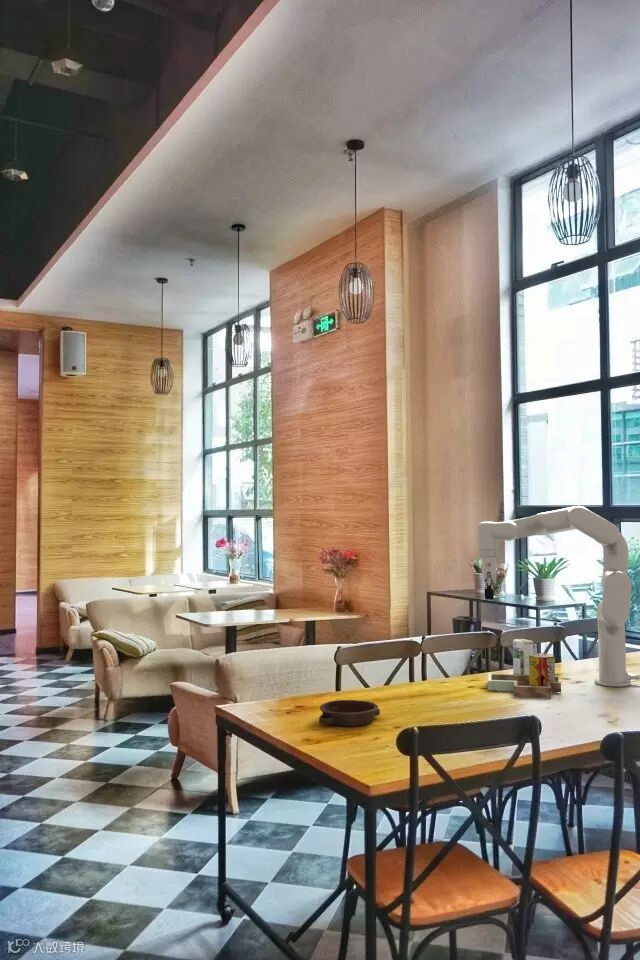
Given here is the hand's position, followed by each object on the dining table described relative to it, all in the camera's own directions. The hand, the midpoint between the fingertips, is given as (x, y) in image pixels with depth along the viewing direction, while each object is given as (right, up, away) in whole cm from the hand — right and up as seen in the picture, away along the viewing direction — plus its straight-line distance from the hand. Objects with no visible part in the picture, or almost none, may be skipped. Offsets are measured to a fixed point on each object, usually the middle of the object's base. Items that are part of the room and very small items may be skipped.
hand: (489, 598), depth 307 cm
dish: (-56, -28, -65) cm, 90 cm away
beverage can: (+15, -30, -19) cm, 39 cm away
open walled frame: (+8, -30, -22) cm, 38 cm away
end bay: (+1, -30, -16) cm, 34 cm away
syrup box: (+14, -31, +2) cm, 34 cm away
